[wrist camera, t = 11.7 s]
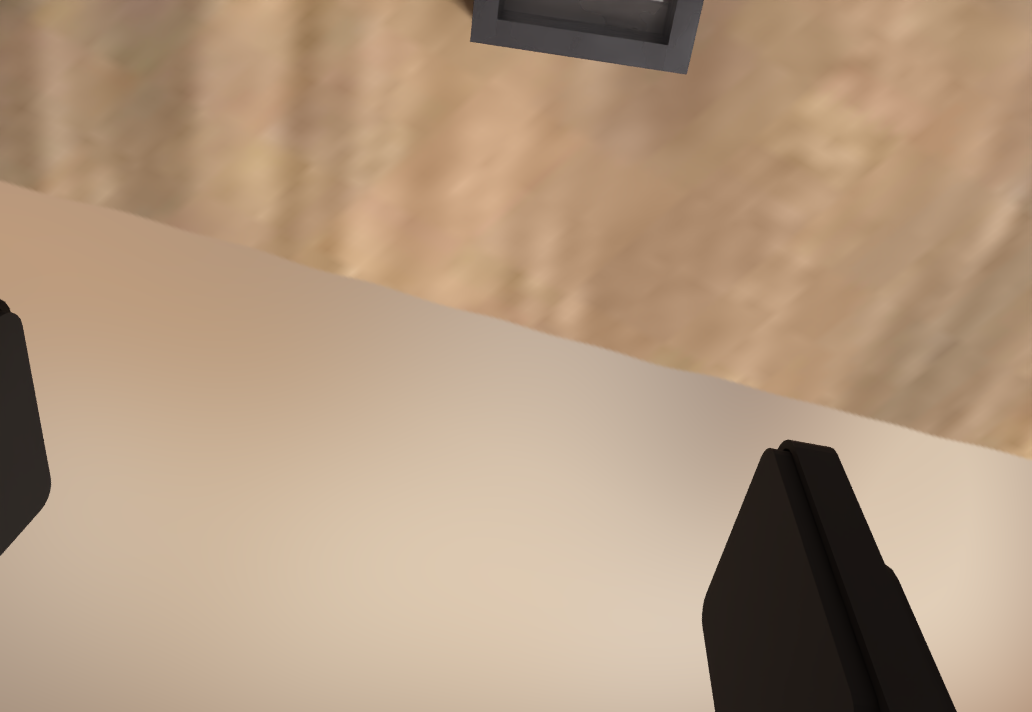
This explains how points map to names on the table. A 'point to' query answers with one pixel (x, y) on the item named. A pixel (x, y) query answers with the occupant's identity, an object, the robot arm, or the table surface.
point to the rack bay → (594, 29)
